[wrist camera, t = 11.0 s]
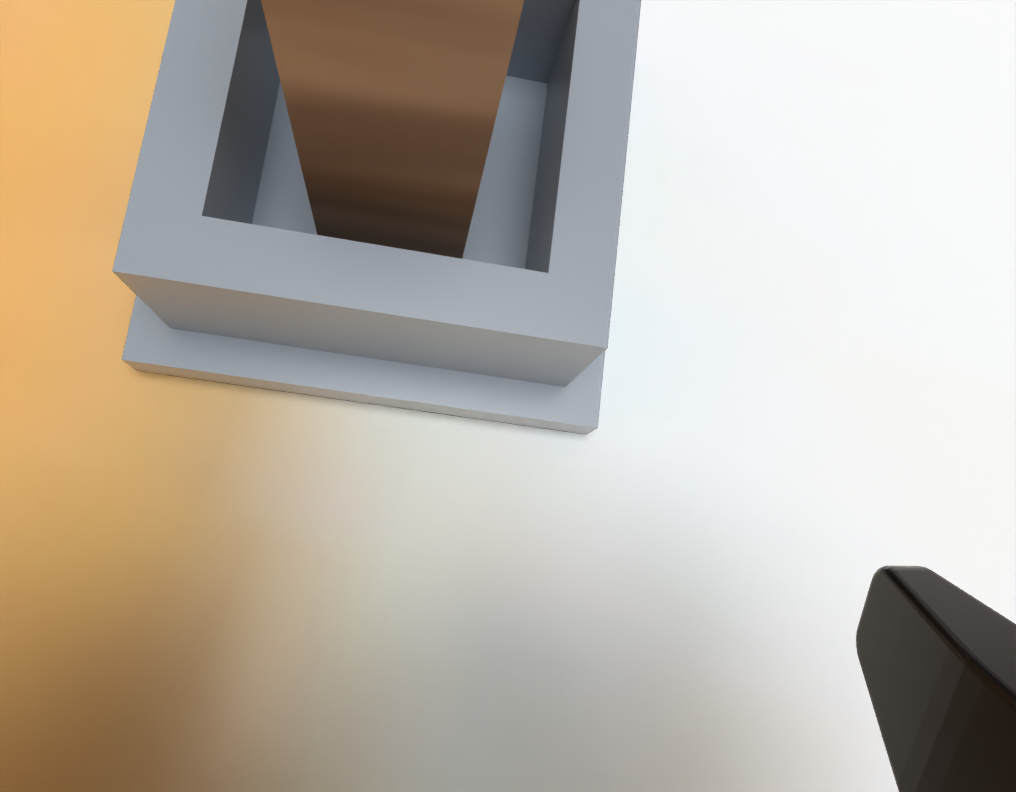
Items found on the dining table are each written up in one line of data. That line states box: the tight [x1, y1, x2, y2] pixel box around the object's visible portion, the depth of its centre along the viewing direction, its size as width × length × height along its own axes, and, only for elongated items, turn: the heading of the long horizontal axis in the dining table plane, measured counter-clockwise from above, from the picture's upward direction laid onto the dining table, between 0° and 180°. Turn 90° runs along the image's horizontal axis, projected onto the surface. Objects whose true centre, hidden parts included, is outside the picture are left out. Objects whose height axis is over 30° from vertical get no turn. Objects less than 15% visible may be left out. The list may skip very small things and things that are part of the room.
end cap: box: [113, 0, 641, 434], centre depth 17 cm, size 10×10×4 cm
